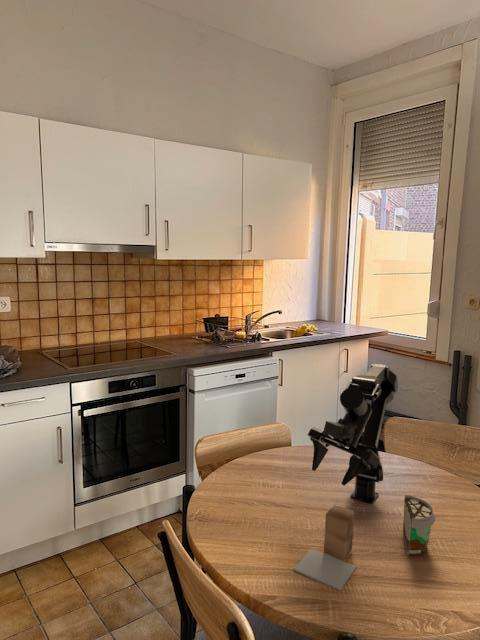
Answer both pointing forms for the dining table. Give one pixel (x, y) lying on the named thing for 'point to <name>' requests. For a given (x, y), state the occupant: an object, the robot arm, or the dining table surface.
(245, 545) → the dining table surface
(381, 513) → the dining table surface
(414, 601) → the dining table surface
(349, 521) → the walnut block
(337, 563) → the mat
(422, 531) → the food container
